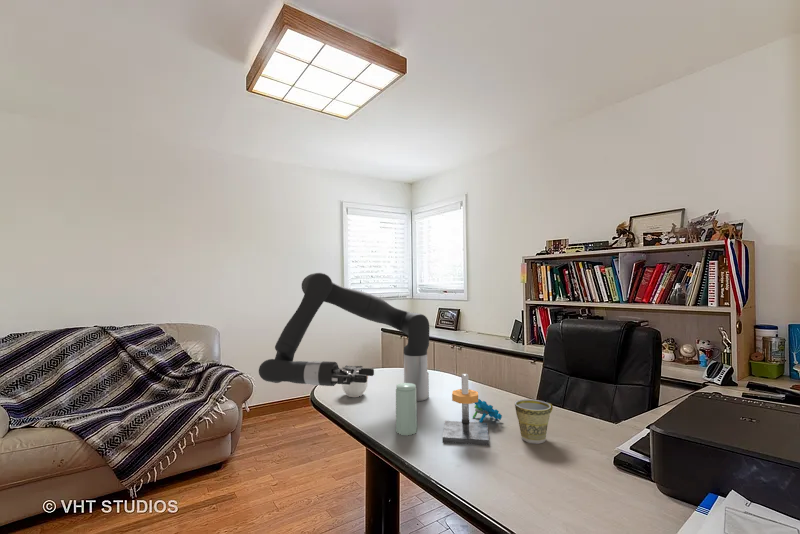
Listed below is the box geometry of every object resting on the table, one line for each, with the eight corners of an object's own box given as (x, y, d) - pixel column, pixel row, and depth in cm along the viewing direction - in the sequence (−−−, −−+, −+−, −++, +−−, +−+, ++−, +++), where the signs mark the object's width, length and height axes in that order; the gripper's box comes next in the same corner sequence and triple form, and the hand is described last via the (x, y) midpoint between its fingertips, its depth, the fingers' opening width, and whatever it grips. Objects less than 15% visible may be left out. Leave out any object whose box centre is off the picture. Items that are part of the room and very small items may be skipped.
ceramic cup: (533, 449, 107) (533, 412, 107) (508, 436, 116) (507, 402, 116) (566, 439, 113) (565, 404, 113) (539, 428, 122) (539, 395, 122)
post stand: (445, 425, 125) (444, 368, 125) (486, 427, 122) (486, 370, 123) (442, 442, 112) (441, 379, 112) (489, 445, 110) (488, 380, 110)
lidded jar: (371, 391, 162) (371, 369, 163) (363, 399, 152) (363, 375, 152) (346, 390, 165) (346, 368, 165) (337, 398, 154) (337, 374, 154)
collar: (452, 395, 122) (452, 388, 122) (477, 396, 121) (477, 389, 121) (451, 403, 114) (451, 396, 114) (478, 404, 113) (478, 397, 113)
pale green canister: (398, 427, 124) (398, 382, 124) (417, 428, 123) (416, 383, 123) (395, 434, 118) (394, 387, 118) (414, 435, 117) (414, 388, 117)
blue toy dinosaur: (509, 418, 125) (488, 399, 124) (500, 434, 123) (479, 415, 121) (488, 413, 135) (469, 394, 134) (479, 427, 133) (459, 409, 131)
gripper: (312, 366, 119) (364, 368, 116) (329, 357, 133) (375, 359, 130) (312, 391, 118) (364, 394, 115) (329, 379, 132) (375, 381, 129)
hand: (370, 375), depth 123 cm, fingers open, 8 cm apart
